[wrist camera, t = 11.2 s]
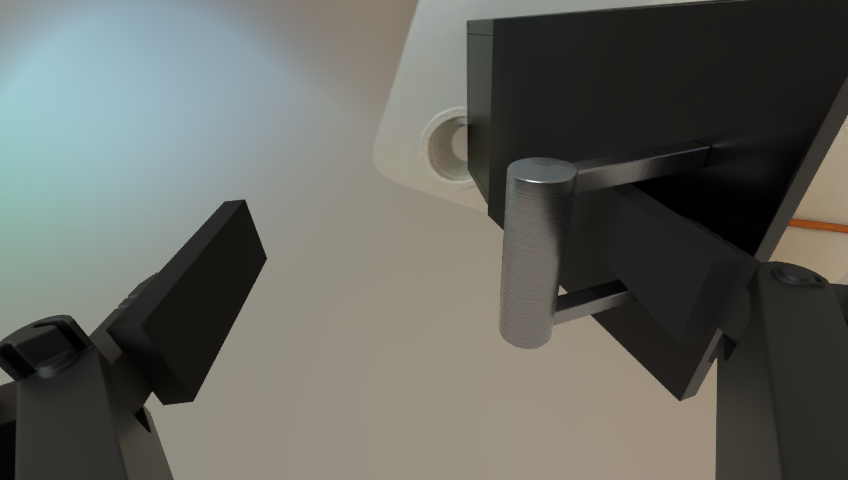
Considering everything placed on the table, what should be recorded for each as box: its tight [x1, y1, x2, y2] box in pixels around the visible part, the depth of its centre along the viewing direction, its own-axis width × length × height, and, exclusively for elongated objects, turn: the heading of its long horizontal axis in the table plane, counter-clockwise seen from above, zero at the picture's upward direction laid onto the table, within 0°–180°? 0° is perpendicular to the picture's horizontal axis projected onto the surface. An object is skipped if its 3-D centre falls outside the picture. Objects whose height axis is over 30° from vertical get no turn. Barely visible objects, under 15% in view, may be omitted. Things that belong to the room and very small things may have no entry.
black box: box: [467, 0, 735, 204], centre depth 28 cm, size 16×13×9 cm
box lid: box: [488, 0, 848, 401], centre depth 16 cm, size 17×13×7 cm
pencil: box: [788, 219, 848, 233], centre depth 43 cm, size 1×19×1 cm, turn 81°
